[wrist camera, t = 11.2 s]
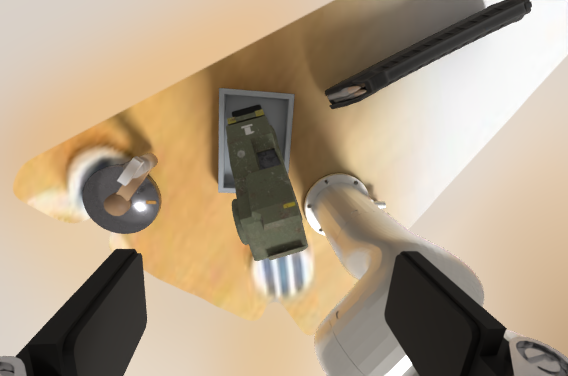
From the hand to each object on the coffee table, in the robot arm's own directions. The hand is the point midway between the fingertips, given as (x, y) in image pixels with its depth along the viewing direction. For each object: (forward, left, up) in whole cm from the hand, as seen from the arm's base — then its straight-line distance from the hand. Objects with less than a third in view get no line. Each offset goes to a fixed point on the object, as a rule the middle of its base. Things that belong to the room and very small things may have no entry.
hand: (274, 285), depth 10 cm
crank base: (+22, +11, -40) cm, 47 cm away
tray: (0, 0, -40) cm, 40 cm away
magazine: (-25, -15, -40) cm, 50 cm away
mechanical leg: (0, 0, -40) cm, 40 cm away
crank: (+19, +7, -38) cm, 44 cm away
